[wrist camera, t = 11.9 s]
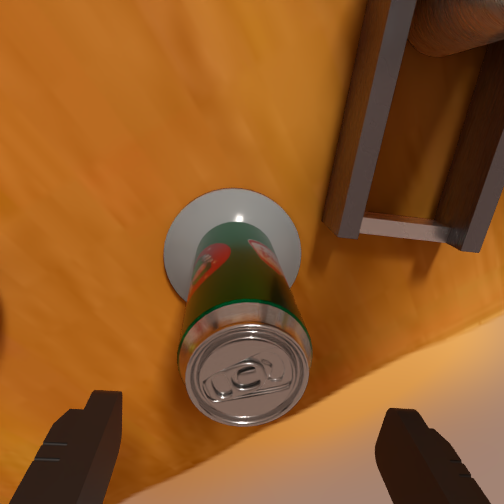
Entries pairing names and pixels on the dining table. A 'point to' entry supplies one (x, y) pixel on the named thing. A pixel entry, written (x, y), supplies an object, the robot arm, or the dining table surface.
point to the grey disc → (222, 211)
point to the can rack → (371, 134)
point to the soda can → (242, 331)
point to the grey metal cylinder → (455, 25)
